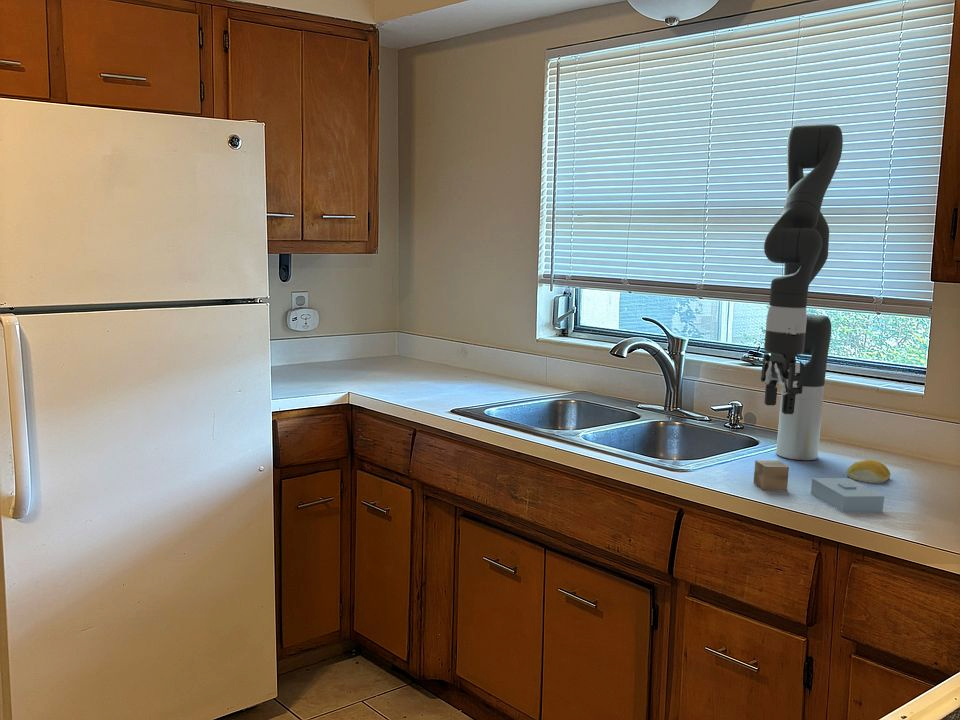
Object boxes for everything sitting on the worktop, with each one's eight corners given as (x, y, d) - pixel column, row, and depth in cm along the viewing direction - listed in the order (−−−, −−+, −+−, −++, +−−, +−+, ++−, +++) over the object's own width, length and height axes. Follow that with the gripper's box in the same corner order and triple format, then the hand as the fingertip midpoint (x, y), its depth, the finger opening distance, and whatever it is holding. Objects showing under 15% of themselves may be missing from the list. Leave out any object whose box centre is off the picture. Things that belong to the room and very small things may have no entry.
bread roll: (892, 478, 193) (894, 460, 192) (883, 486, 186) (885, 468, 185) (852, 470, 198) (854, 453, 197) (841, 479, 191) (843, 460, 190)
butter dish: (810, 495, 178) (812, 476, 177) (847, 495, 179) (849, 476, 179) (842, 514, 166) (844, 494, 166) (882, 514, 167) (884, 494, 167)
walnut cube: (753, 483, 184) (755, 460, 183) (776, 484, 184) (778, 460, 184) (762, 490, 179) (764, 466, 178) (786, 491, 179) (789, 466, 179)
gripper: (753, 324, 184) (747, 402, 186) (782, 332, 169) (775, 416, 172) (788, 325, 184) (781, 402, 187) (820, 334, 170) (812, 417, 172)
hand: (778, 409), depth 179 cm, fingers open, 8 cm apart
